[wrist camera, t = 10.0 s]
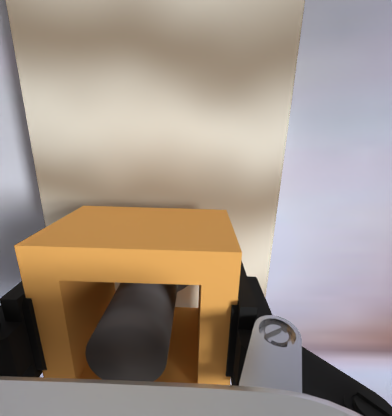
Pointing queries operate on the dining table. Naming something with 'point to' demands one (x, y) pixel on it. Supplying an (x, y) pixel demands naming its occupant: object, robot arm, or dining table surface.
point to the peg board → (158, 132)
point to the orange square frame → (133, 273)
